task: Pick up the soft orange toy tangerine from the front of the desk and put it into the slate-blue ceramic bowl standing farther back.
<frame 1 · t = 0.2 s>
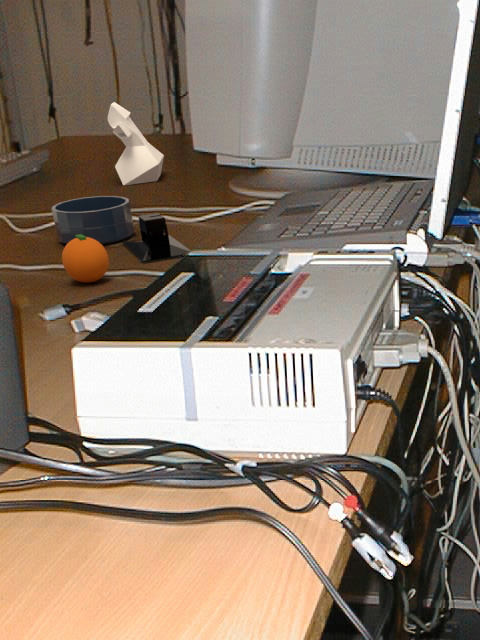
black winged block: (157, 250, 128), on the table
white angular stand: (142, 179, 176), on the table
bowl: (97, 238, 136), on the table
toy tangerine: (85, 259, 114), point 3 cm above the table
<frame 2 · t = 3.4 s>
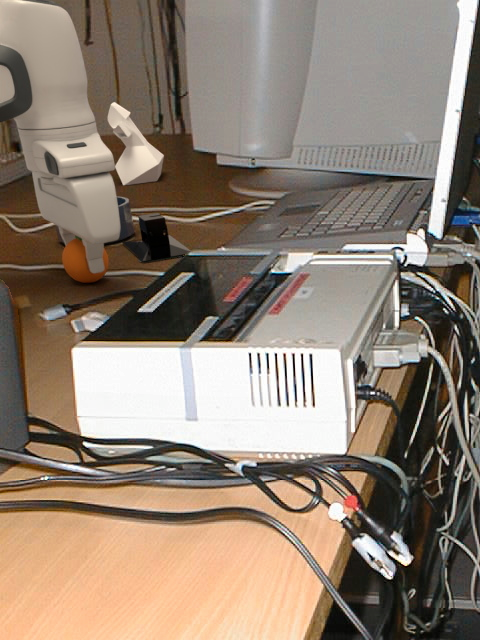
hand: (87, 266, 115), 2 cm above the table, tool pointing down, fingers closed on toy tangerine, 5 cm apart
toy tangerine: (85, 260, 114), point 3 cm above the table, touching gripper
everything else where it was.
when the fingers open (5 cm above the table, at t = 11.2 s): toy tangerine stays where it is, resting on bowl.
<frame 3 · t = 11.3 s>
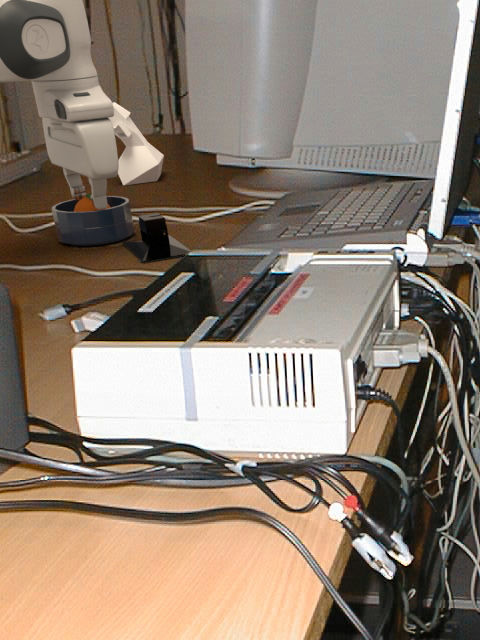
hand: (89, 203, 133), 5 cm above the table, tool pointing down, fingers open, 7 cm apart
toy tangerine: (93, 216, 134), point 3 cm above the table, touching bowl
everything else where it was.
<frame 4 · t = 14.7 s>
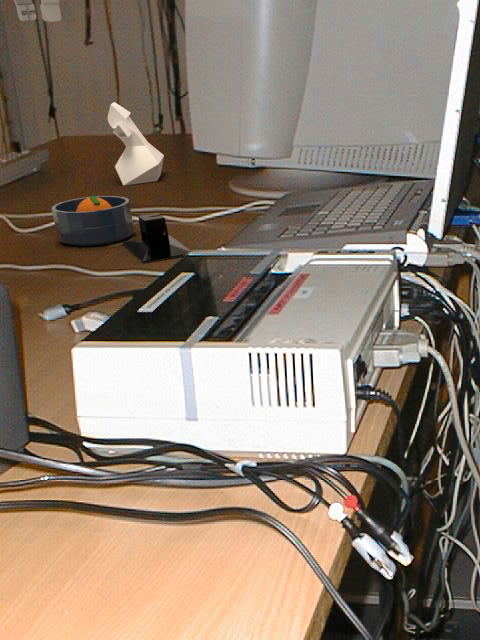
hand: (40, 21, 108), 29 cm above the table, tool pointing down, fingers open, 8 cm apart
toy tangerine: (95, 217, 133), point 3 cm above the table, tilted 25°, touching bowl
everything else where it was.
at the end: toy tangerine inside the target area in the bowl (1.3 cm from its centre), point 3.3 cm above the bowl's base; the gripper is holding nothing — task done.
